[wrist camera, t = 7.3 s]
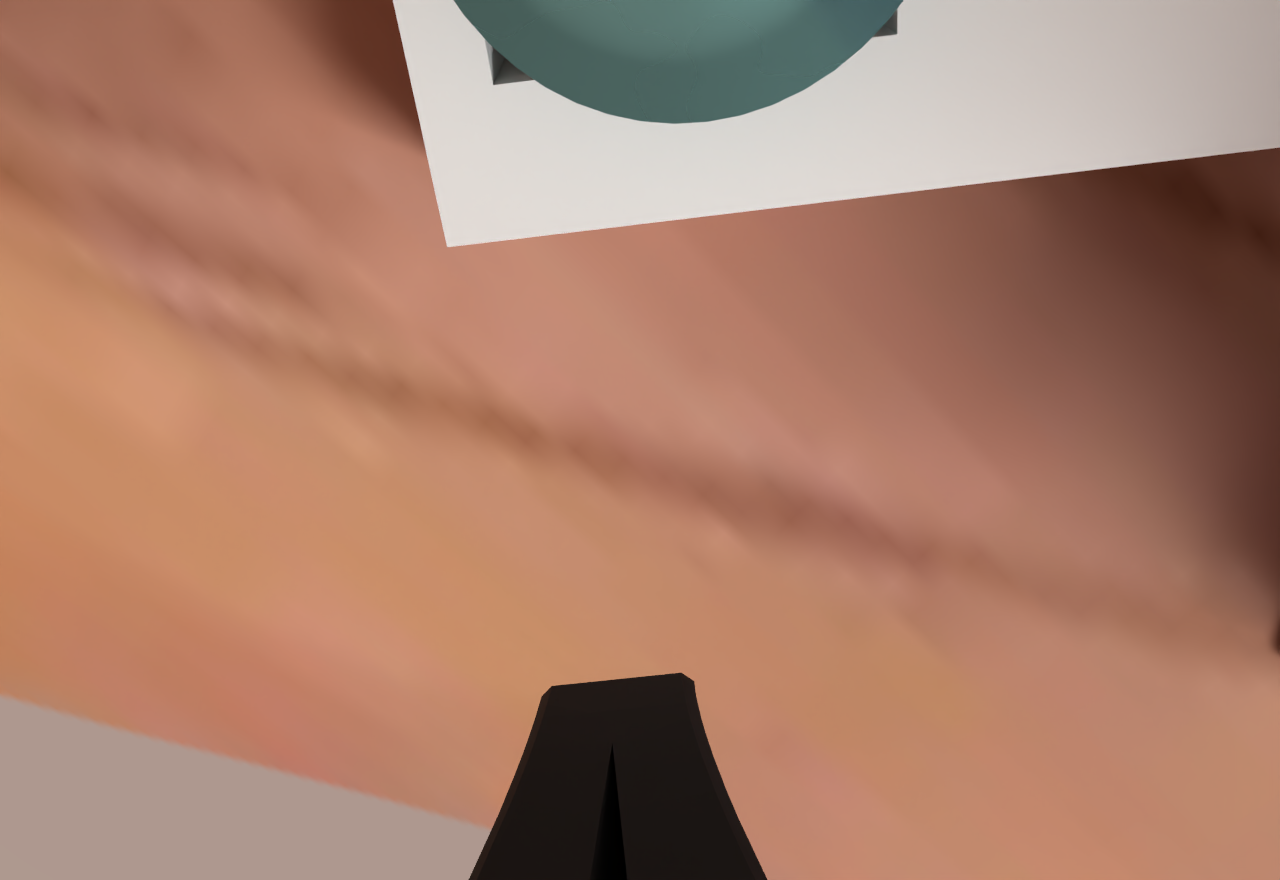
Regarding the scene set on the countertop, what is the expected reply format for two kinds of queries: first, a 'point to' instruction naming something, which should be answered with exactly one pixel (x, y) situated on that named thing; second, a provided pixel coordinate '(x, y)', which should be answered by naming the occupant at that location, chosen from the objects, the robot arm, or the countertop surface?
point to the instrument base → (852, 114)
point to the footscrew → (677, 50)
